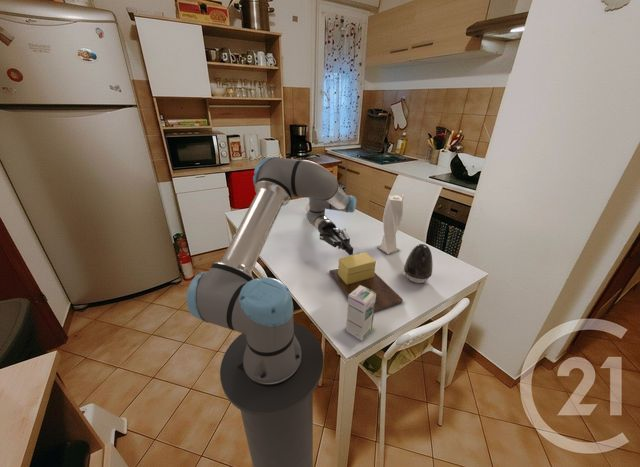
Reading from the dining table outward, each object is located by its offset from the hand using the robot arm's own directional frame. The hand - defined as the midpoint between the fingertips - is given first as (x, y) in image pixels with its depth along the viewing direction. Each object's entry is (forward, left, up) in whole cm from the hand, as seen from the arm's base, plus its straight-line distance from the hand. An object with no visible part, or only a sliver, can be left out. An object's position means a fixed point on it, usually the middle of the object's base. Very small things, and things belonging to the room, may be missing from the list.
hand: (351, 251), depth 101 cm
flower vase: (+19, +57, -10) cm, 61 cm away
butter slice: (-1, -4, -4) cm, 6 cm away
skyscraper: (+26, +4, -10) cm, 28 cm away
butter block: (-1, -4, -8) cm, 9 cm away
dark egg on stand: (+19, -17, -10) cm, 28 cm away
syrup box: (-17, -24, -10) cm, 31 cm away
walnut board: (-2, -10, -10) cm, 14 cm away
